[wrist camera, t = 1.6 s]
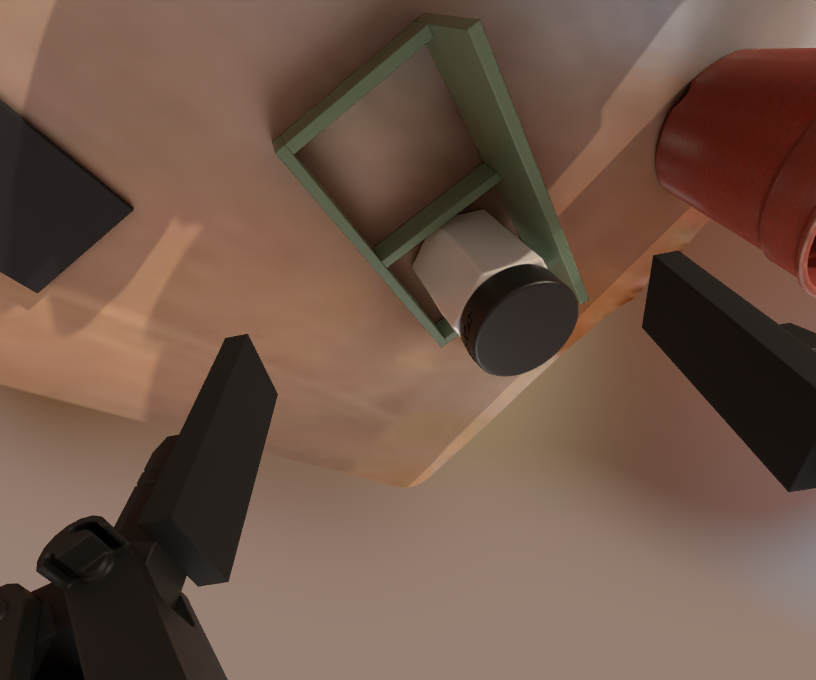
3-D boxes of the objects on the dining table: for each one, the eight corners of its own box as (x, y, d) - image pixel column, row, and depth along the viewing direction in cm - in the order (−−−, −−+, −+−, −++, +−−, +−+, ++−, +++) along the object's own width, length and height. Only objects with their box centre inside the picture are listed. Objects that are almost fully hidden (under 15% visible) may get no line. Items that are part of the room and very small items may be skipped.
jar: (394, 251, 37) (448, 334, 28) (472, 187, 35) (555, 253, 27) (446, 311, 43) (504, 397, 34) (514, 258, 41) (594, 332, 32)
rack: (271, 142, 29) (283, 181, 23) (424, 12, 27) (480, 18, 21) (432, 332, 44) (465, 386, 38) (538, 255, 42) (589, 299, 36)
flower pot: (597, 173, 39) (764, 256, 27) (747, -38, 32) (1062, -54, 20) (687, 238, 47) (844, 323, 35) (820, 84, 40) (1070, 123, 28)
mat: (-136, 186, 24) (-142, 190, 24) (-26, 78, 23) (-30, 79, 22) (39, 289, 30) (37, 293, 30) (134, 207, 29) (133, 210, 28)
